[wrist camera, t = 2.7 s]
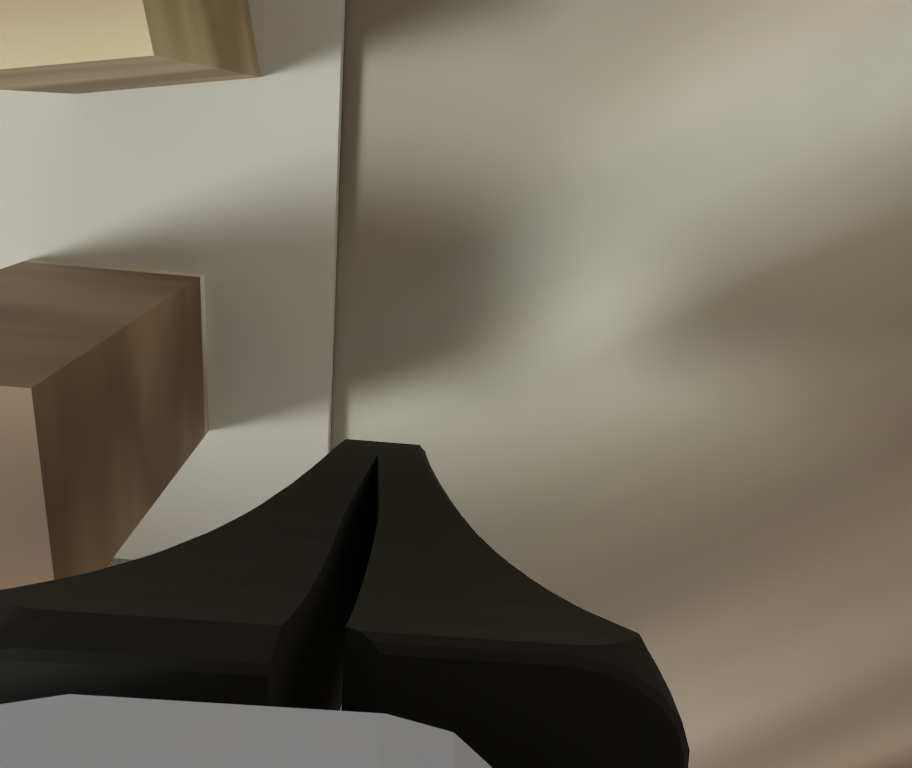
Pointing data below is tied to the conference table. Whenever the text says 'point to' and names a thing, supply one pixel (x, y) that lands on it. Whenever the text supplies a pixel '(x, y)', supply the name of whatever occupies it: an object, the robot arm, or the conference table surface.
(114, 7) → the oak block
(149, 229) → the mat
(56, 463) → the walnut block
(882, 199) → the conference table surface
